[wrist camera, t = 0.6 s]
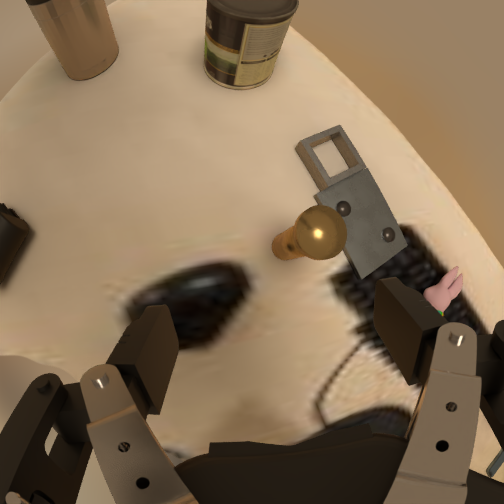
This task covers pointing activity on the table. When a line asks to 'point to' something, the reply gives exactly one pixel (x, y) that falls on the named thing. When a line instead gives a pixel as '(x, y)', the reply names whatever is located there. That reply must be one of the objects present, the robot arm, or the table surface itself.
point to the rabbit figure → (444, 290)
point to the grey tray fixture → (354, 203)
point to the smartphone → (495, 464)
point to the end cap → (10, 237)
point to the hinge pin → (312, 235)
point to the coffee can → (245, 40)
